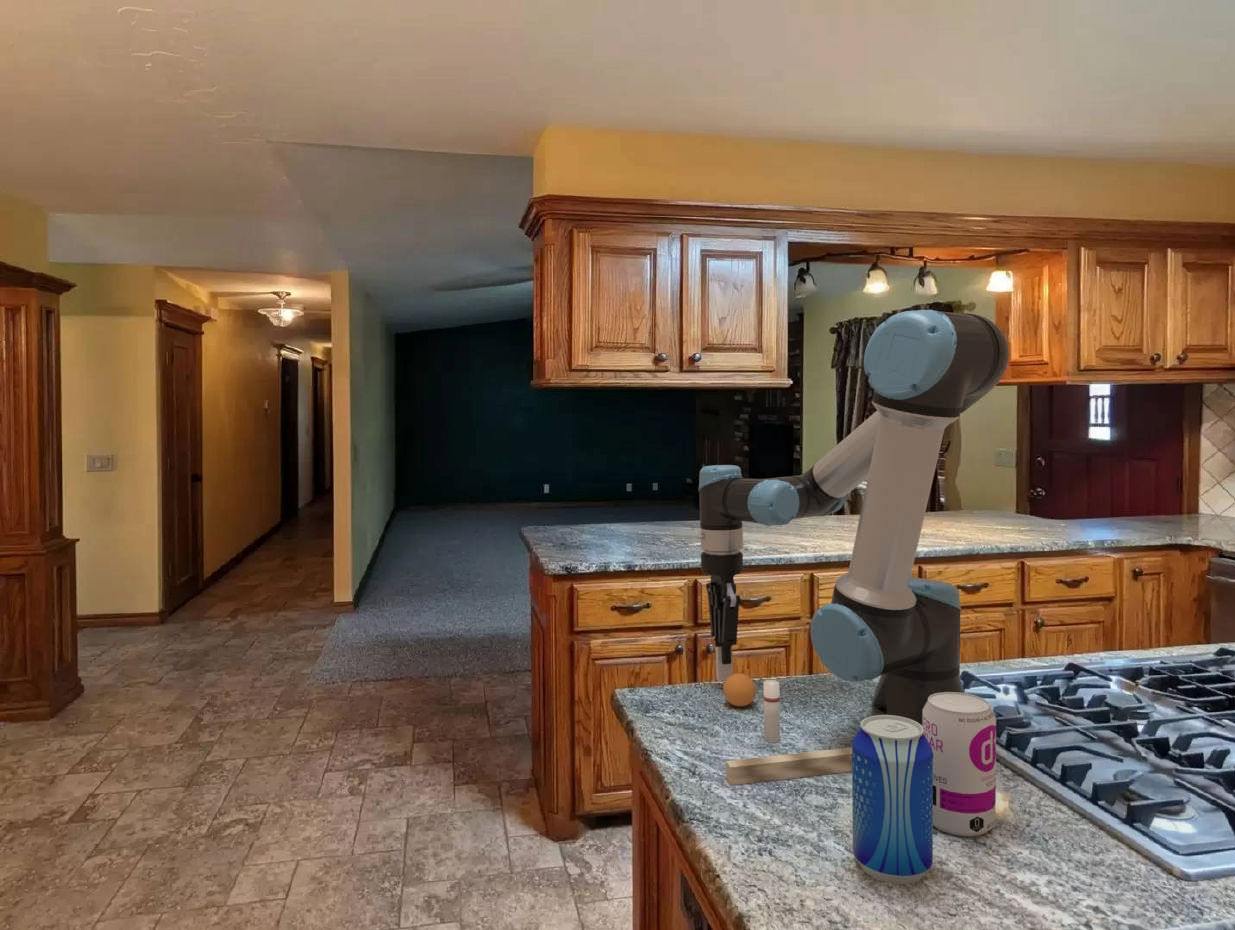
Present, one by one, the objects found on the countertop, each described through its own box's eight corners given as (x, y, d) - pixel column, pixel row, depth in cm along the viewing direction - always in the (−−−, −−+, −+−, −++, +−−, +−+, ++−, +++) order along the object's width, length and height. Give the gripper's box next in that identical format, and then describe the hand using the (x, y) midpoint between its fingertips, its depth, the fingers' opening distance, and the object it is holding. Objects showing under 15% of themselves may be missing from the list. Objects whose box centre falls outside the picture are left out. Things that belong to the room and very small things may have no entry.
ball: (761, 703, 142) (760, 672, 142) (747, 713, 137) (747, 681, 137) (732, 697, 145) (731, 667, 145) (718, 707, 141) (717, 676, 140)
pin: (783, 738, 127) (782, 681, 126) (776, 744, 125) (775, 686, 124) (767, 735, 128) (767, 678, 128) (761, 740, 126) (760, 683, 126)
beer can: (939, 891, 86) (939, 743, 85) (856, 884, 88) (855, 739, 87) (925, 849, 95) (925, 713, 93) (850, 843, 96) (849, 710, 95)
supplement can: (1008, 824, 100) (1009, 703, 99) (968, 846, 95) (969, 719, 94) (948, 799, 106) (949, 685, 105) (908, 818, 102) (908, 700, 101)
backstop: (873, 762, 118) (873, 745, 118) (880, 767, 116) (880, 750, 116) (726, 778, 114) (725, 761, 114) (730, 785, 112) (730, 767, 112)
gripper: (691, 546, 154) (694, 670, 155) (712, 558, 141) (715, 693, 143) (730, 544, 155) (733, 667, 157) (753, 555, 142) (756, 689, 144)
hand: (724, 679), depth 150 cm, fingers closed
